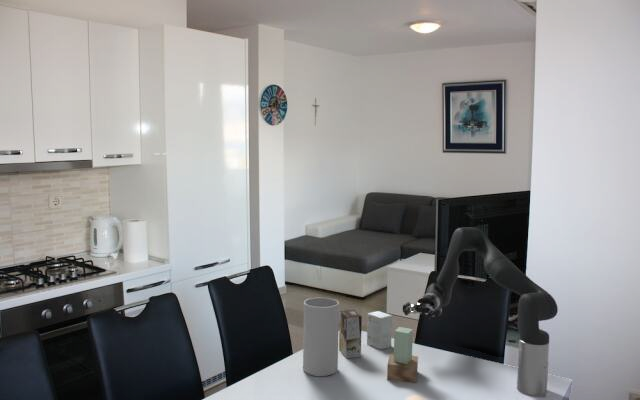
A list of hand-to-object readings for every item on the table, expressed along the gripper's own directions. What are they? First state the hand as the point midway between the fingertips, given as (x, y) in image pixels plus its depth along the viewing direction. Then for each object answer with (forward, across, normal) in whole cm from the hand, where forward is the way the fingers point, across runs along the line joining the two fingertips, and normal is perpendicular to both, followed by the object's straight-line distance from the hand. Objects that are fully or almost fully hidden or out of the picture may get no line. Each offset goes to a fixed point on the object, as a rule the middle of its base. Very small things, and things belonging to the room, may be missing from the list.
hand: (417, 314), depth 208 cm
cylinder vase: (+22, -29, +19) cm, 41 cm away
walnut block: (+13, -1, +19) cm, 23 cm away
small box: (-12, -19, +19) cm, 29 cm away
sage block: (+13, -1, +13) cm, 19 cm away
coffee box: (+2, -26, +19) cm, 32 cm away
